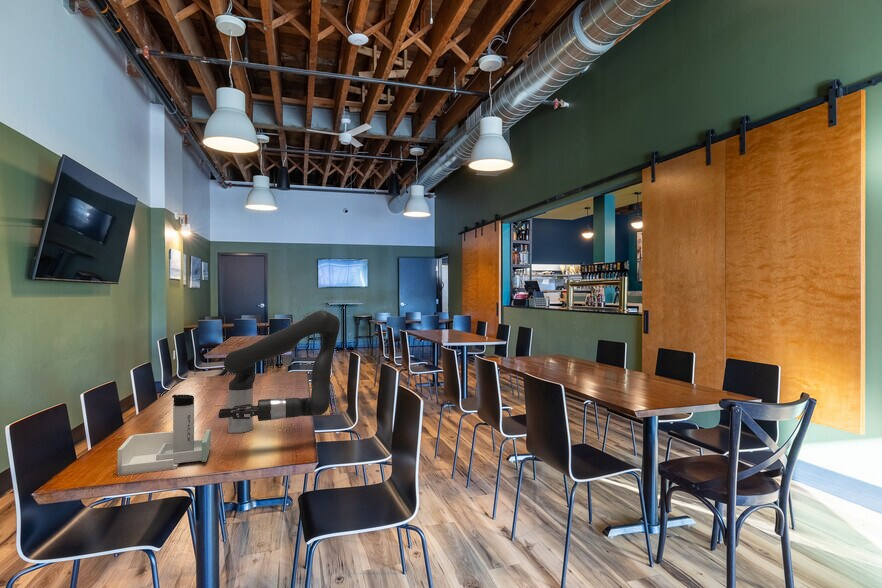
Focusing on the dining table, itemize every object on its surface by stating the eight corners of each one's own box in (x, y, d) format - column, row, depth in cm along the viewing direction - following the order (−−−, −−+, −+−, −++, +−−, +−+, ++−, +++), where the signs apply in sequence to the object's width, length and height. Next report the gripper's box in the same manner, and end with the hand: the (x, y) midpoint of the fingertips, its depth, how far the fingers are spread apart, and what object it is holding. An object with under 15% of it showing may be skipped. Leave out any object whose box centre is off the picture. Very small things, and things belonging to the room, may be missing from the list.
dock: (183, 452, 166) (184, 430, 166) (176, 468, 150) (176, 443, 150) (130, 458, 160) (131, 435, 160) (117, 475, 144) (117, 449, 144)
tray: (210, 446, 169) (210, 428, 169) (206, 461, 153) (206, 442, 153) (164, 451, 163) (164, 433, 163) (154, 467, 147) (155, 447, 148)
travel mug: (173, 452, 160) (173, 393, 160) (195, 449, 162) (195, 392, 162) (170, 457, 154) (170, 397, 154) (192, 455, 156) (192, 395, 156)
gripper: (271, 395, 175) (220, 398, 169) (272, 402, 162) (217, 407, 156) (271, 415, 175) (220, 419, 169) (272, 424, 162) (217, 429, 156)
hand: (219, 413), depth 162 cm, fingers open, 3 cm apart
